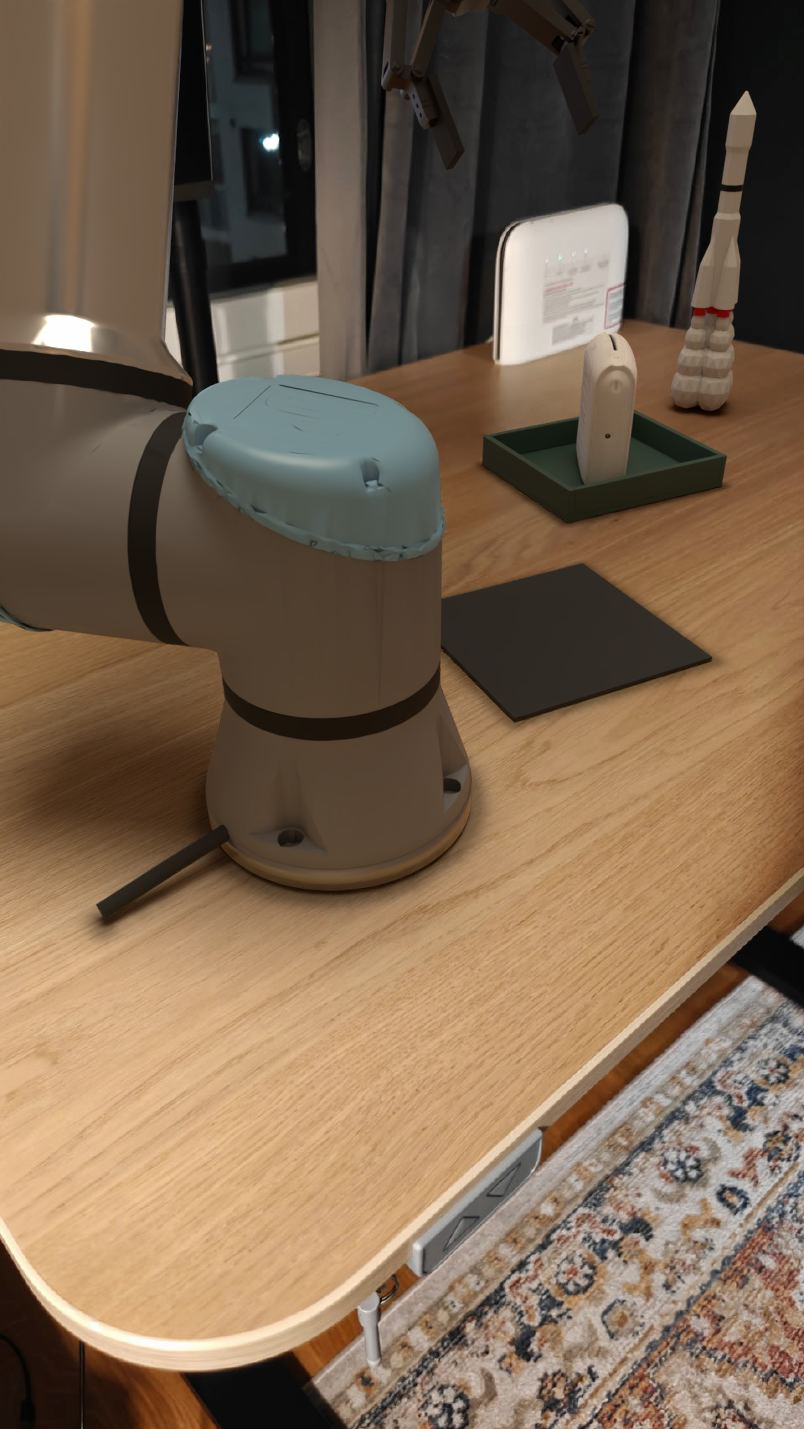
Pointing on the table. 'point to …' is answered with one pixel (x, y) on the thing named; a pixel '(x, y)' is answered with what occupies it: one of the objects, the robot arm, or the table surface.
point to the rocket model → (717, 283)
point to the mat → (558, 640)
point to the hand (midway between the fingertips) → (523, 143)
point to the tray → (553, 480)
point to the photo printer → (606, 408)
